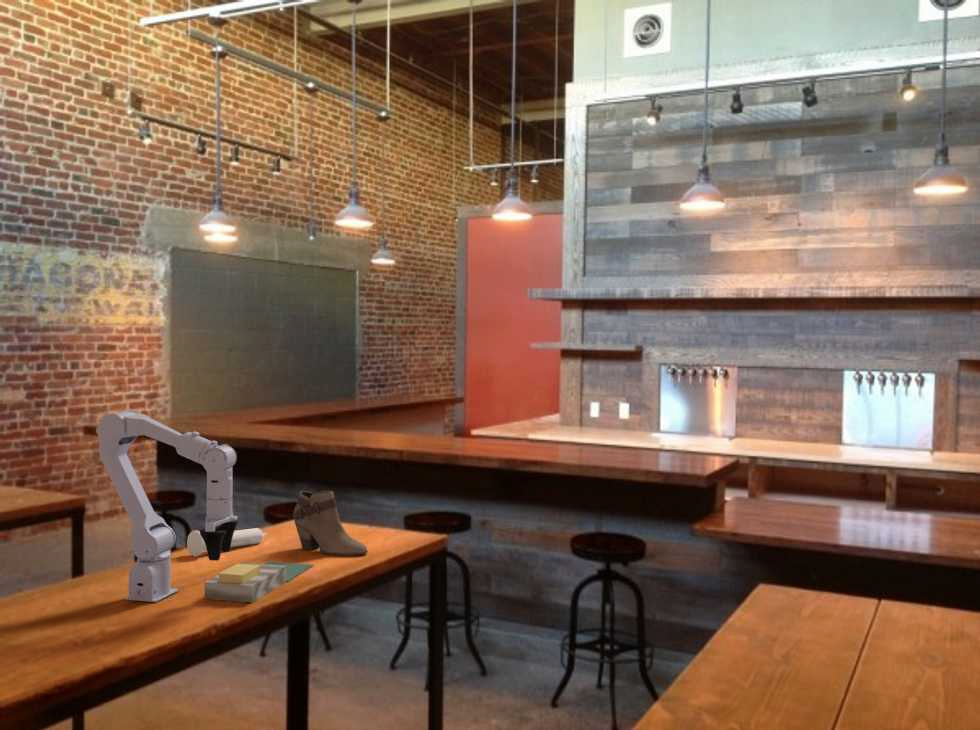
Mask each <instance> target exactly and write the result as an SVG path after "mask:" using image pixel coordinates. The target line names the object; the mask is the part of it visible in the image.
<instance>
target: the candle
mask: <svg viewBox="0 0 980 730" xmlns="http://www.w3.org/2000/svg"><path fill="white" fill-rule="evenodd" d="M266 536H268V534H267V533H266V532H265V533H264V532H263V531H262V530H261V528H258V527H255V528H247V529H237V530H236V529H235V531H234V534H233V537H232V542H231V546H230V548H234V547H240V546H241V547H242V546H248V545H255V544H256V545H257V544H260V543H261V542H262V541H263V538H264V537H266ZM186 545H187V547H186V548H187V551H188V553H189V554H190V555H191V556H192V555H193V556H192V557H194V556H197V557H200V556H201V555H202V554H203V552H207V549H206V545H205V542H204V540H203V538H202V537H201V535H200V530H192V531H190V533H189V534H188V536H187V540H186Z"/></svg>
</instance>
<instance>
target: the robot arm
mask: <svg viewBox="0 0 980 730" xmlns="http://www.w3.org/2000/svg"><path fill="white" fill-rule="evenodd" d="M95 431H96V434H97V437H98V441H99V442H98V445H99V446H98V449H99V450H98V453H99V457H100V460H101V462H102V464H103V466H104V468H105V471H106V472H107V475H108V477H109V478H110V481H111V482H112V485H113V487H114V489H115V491H116V493H117V495H118V497H119V499H120V502H121V504H122V505H123V508H124V510H125V512H126V514H127V516H128V518H129V521H130V522H131V527H130V530H129V537H130V539H131V549H132V552H133V554H134V555H135V557H136V558H137V559H136V563H135V564H134V565H133V566H132V567H131V568H130V569H129V573H128V596H126V597H125V598H124V599H125V601H137V602H146V603H147V602H150V603H157V602H159V601H160V600H161V601H162V600H163V599H165V598H166V597H169V596H171V595H173V594H175V593H177V592H178V591H179V589H178V588H171V553H172V552H171V549H172V548H174V546H175V544H176V542H177V541H176V540H177V539H176V538H177V536H176V533H175V531H174V530H173V528H171V526H169V525H168V524H167V523H166V521H165V519H164V518H163V517H162V516H160V515H158V514H157V513H156V512H155V510H154V508H153V506H152V504H151V502H150V499H149V498H148V496H147V494H146V491H145V490H144V488H143V486H142V484H141V481H140V480H139V477H138V475H137V473H136V471H135V469H134V466H133V464H132V462H131V461H130V460H131V459H129V456H128V454H127V453H128V452H129V449H130V447H131V445H132V444H133V442H134V441H135V440H136V438H137V437H138V436H145V437H148V438H151V439H154V440H155V441H159V442H162V443H164V444H167V445H169V446H172V447H174V448H175V450H176V454H178V455H179V456H181V457H184V458H186V459H189V460H191V461H193V462H195V463H197V464H200V465H202V467H203V468H204V469H205V470H206V516H205V524H204V525H205V527H204V528H202V529H200V530H199V532H200V535H201V537H202V538H203V540H204V542H205V545H206V549H207V550H206V552H207V556H208V560H209V561H220V559H221V554H222V553H229V552H230V549H231V547H230V546H231V542H232V537H233V534H234V531H236V528H237V527H238V525H239V520H238V515H234V510H233V492H234V491H233V489H234V488H233V483H234V482H233V466H234V465H235V464H236V462H237V452H236V451H235V449H234V448H233V447H232V446H230V445H229V444H227V443H225V444H223V443H222V444H218V441H216V440H209V439H207V438H205V437H202V436H200V432H197V431H192V432H191V431H186V432H185V433H181V432H179V431H177V430H174V429H172V428H171V427H169V426H167V425H165V424H163V423H161V422H159V421H157V420H155V419H154V418H152V417H150V416H148V415H147V414H145V413H139V412H138V411H136V410H126V411H122V412H116V413H113V412H111V413H107V414H105V415H103V416H102V417H101V419H100V420H99V422H98V424H97V427H96V429H95Z"/></svg>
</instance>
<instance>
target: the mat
mask: <svg viewBox="0 0 980 730" xmlns="http://www.w3.org/2000/svg"><path fill="white" fill-rule="evenodd" d="M264 564H266V565H279V566H286V582H285V583H289V582H291V581H293V579H295V578H297V577H299V576H300V575H301V574H302V573H305V572H306V571H308V570H310V569H311V568H313V567H314V564H309V563H297V562H282V561H270V560H269V561H267V562H264Z"/></svg>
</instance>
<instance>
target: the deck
mask: <svg viewBox="0 0 980 730" xmlns="http://www.w3.org/2000/svg"><path fill="white" fill-rule="evenodd" d="M239 564H249V565H260V574H259V575H257V576H255V577H253V578H252V579H250V580H248V581H247V582H245V583H243V584H239V583H226V582H219V574H217V575H215V576H214V577H211V578H210V579H208V580H206V581H204V600H208V599H215V600H214V601H220V600H226V601H225V602H232V601H238V602H237V603H244V602H250V603H249V604H254V603H255V602H256V600H257V601H258V600H260V599H262V598H263V597H265V596H266V595H268V594H269V593H271V592H272V591H274V590H276V589H277V588H279V587H280V586H282V585H284V584H286V583H287V582H286V566H279V565H266V564H265V563H253V562H252V563H249V562H240V563H239ZM264 595H265V596H264ZM254 601H255V602H254Z"/></svg>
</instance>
